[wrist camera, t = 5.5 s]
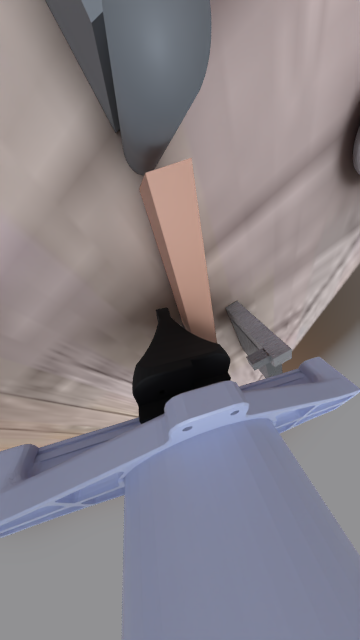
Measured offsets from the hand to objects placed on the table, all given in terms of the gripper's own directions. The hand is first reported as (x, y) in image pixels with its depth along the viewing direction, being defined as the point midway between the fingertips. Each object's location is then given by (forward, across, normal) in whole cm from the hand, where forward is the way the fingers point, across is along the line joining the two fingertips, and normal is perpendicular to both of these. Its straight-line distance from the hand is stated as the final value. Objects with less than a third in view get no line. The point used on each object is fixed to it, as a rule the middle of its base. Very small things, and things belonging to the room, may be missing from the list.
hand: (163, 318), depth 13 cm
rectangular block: (+1, -2, -2) cm, 3 cm away
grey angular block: (+1, -9, +5) cm, 10 cm away
